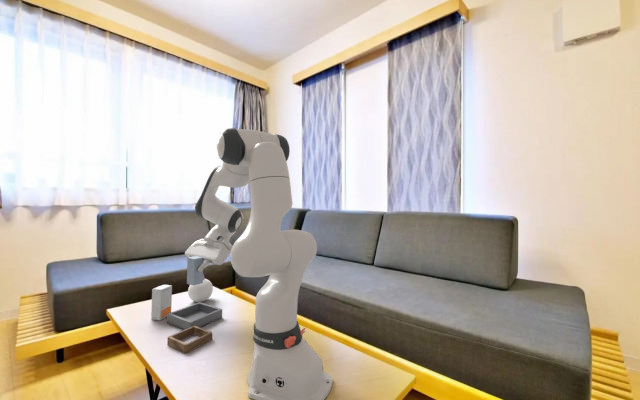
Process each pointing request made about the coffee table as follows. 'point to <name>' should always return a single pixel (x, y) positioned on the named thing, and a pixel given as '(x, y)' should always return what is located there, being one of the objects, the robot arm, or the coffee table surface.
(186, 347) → the walnut holder
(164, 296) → the skincare box
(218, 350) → the coffee table surface
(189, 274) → the slate block
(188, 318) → the charcoal tray
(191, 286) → the ornament
